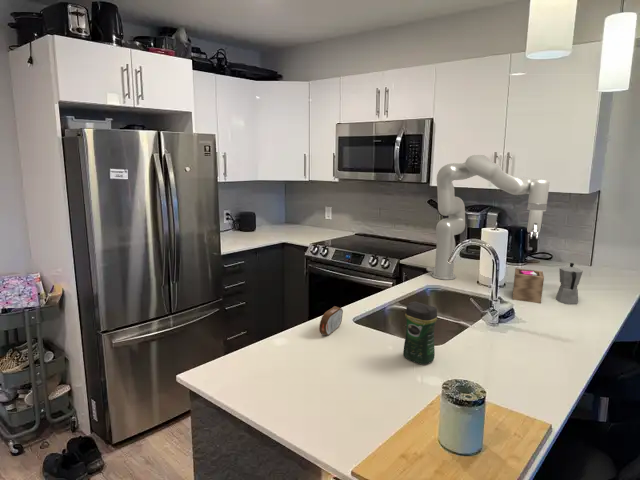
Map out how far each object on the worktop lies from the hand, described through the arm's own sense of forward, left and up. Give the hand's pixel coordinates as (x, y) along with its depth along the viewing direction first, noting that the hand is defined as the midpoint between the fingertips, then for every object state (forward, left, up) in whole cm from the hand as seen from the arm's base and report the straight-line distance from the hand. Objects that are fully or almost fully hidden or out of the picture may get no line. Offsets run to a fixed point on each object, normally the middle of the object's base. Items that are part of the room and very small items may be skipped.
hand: (532, 245), depth 199 cm
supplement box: (0, 0, -24) cm, 24 cm away
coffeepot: (+17, +2, -25) cm, 30 cm away
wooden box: (0, 0, -25) cm, 25 cm away
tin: (-68, -75, -25) cm, 104 cm away
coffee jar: (-34, -83, -25) cm, 93 cm away
